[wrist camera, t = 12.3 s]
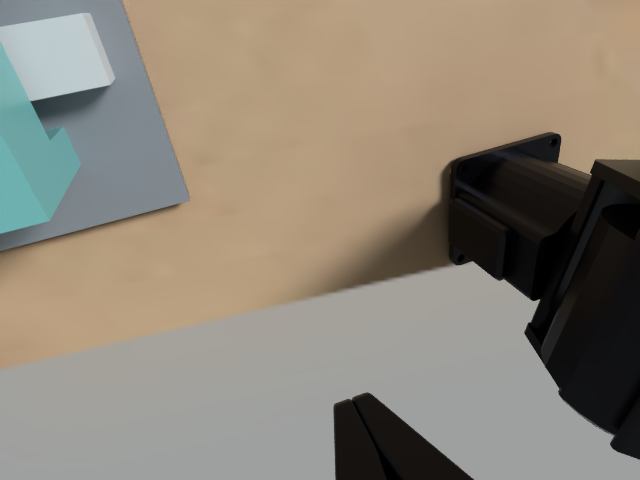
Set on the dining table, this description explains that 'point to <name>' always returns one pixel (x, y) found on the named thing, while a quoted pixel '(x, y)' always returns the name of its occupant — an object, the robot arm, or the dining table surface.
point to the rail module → (29, 158)
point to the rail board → (92, 111)
